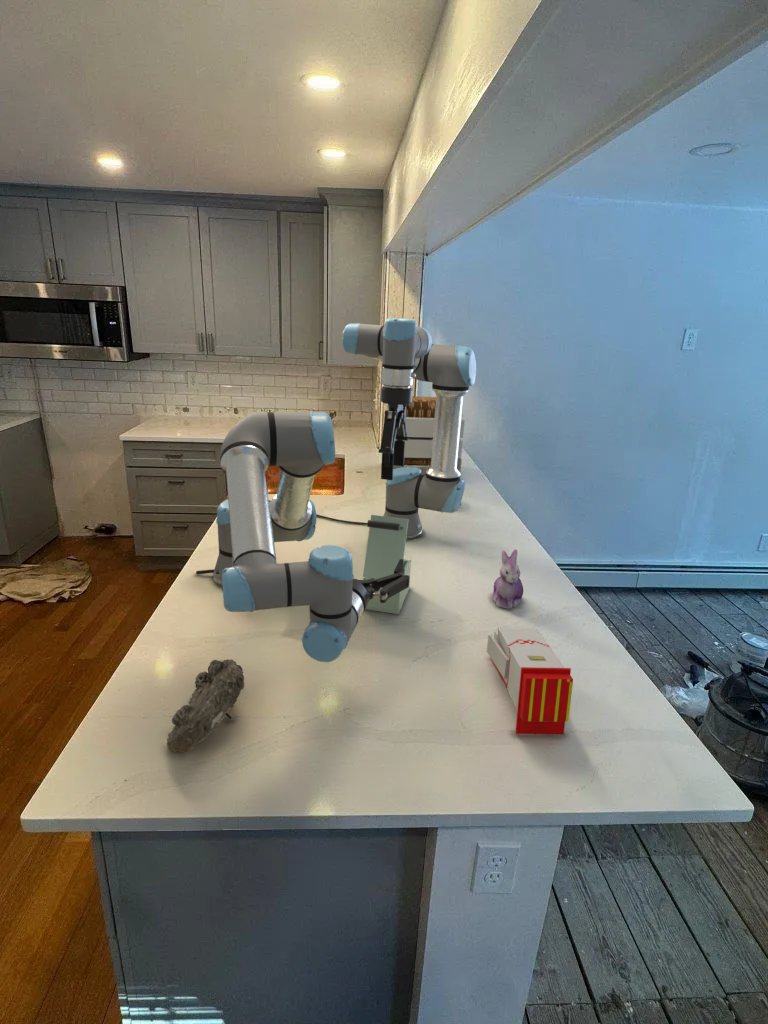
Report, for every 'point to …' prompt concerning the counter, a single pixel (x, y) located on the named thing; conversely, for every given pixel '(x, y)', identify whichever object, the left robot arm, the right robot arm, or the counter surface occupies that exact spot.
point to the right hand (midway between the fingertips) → (392, 472)
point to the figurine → (508, 583)
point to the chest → (393, 602)
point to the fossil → (206, 705)
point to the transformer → (422, 433)
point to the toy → (532, 679)
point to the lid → (384, 545)
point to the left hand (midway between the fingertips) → (372, 560)
